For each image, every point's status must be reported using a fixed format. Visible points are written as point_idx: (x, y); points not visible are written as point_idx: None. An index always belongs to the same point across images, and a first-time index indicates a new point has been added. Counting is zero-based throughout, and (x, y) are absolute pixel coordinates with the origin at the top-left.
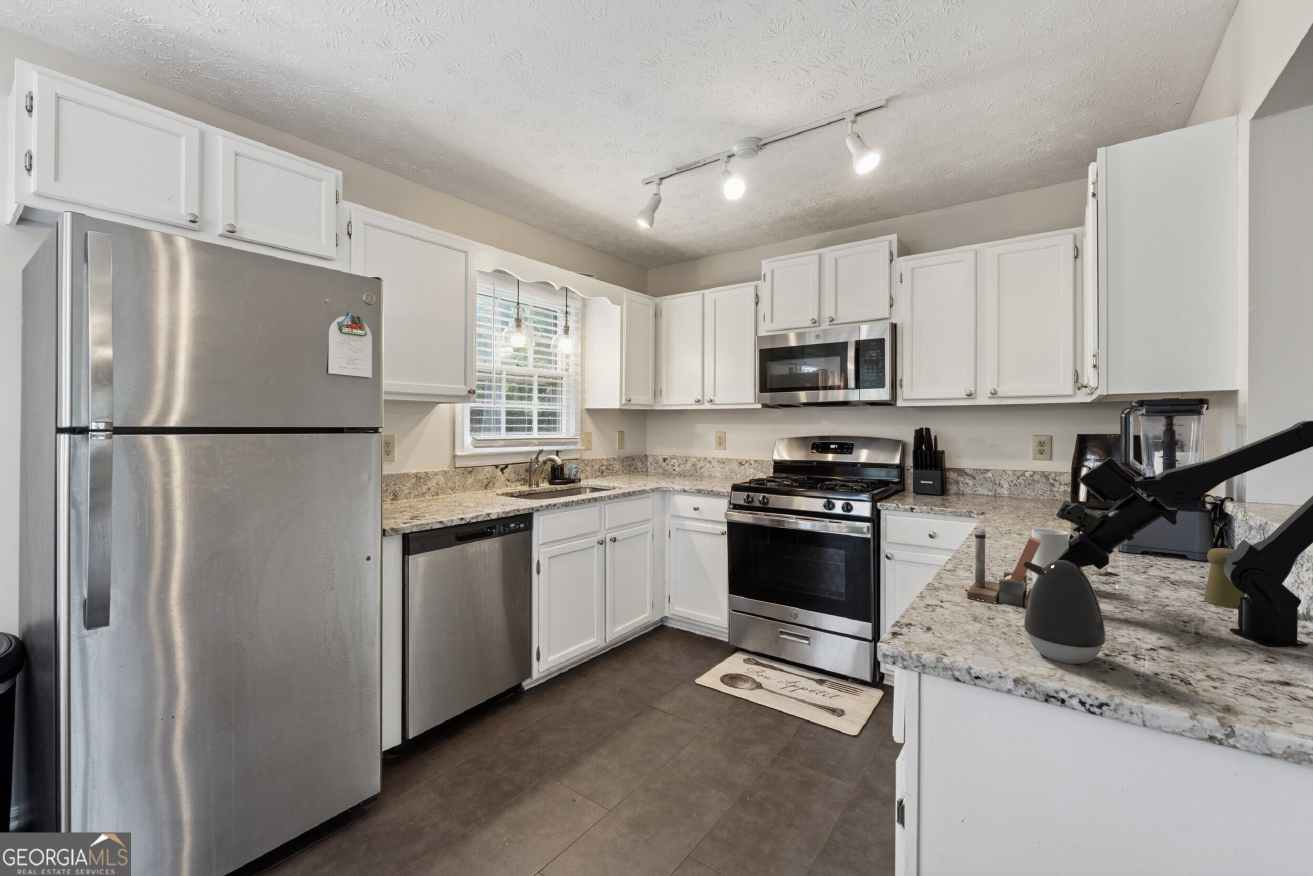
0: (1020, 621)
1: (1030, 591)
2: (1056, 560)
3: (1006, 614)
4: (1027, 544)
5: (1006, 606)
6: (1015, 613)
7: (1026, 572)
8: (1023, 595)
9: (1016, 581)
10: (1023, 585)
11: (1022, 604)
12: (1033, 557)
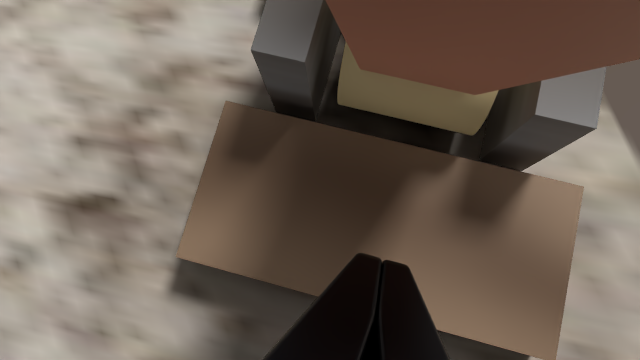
0: (7, 64)
1: (471, 169)
2: (396, 339)
3: (101, 19)
4: None
5: (244, 36)
6: (132, 61)
7: (354, 56)
8: (483, 145)
9: (307, 19)
10: (388, 95)
11: (279, 109)
12: (339, 22)
